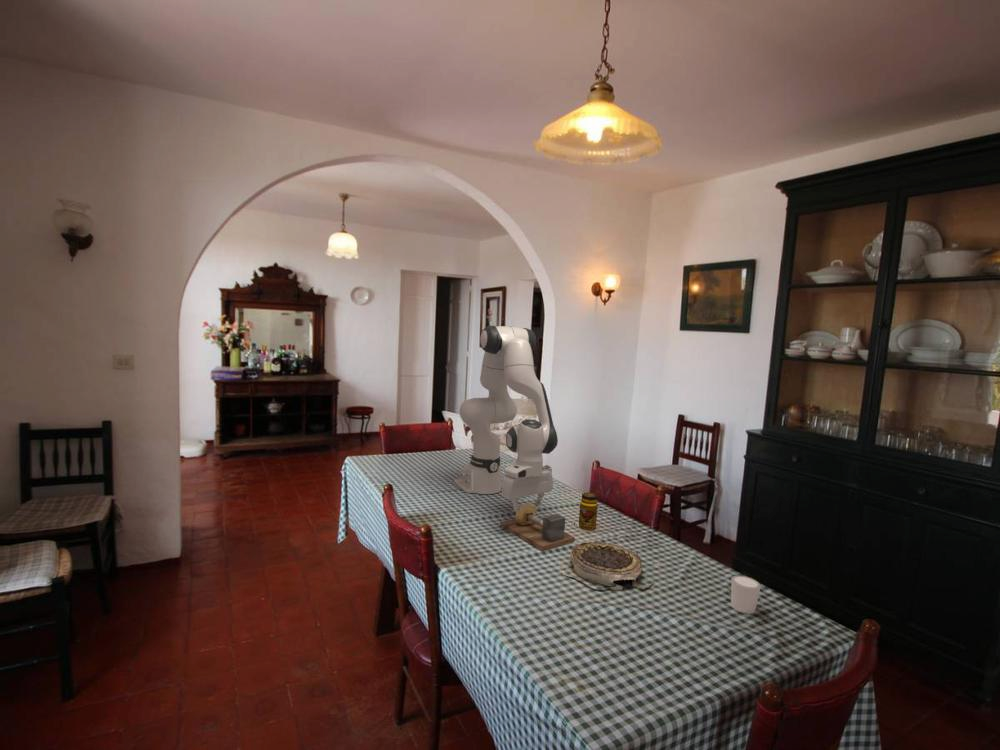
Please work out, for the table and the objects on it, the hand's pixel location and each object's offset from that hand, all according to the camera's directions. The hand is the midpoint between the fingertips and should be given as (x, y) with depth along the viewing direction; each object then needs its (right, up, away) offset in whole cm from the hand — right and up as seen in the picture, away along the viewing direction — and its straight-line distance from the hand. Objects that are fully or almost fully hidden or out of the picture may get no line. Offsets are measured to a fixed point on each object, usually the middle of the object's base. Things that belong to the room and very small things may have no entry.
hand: (527, 507), depth 173 cm
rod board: (+3, -8, -4) cm, 9 cm away
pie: (+22, -12, -25) cm, 35 cm away
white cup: (+54, -15, -42) cm, 70 cm away
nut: (-1, -5, +1) cm, 5 cm away
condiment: (+21, -8, +5) cm, 23 cm away
